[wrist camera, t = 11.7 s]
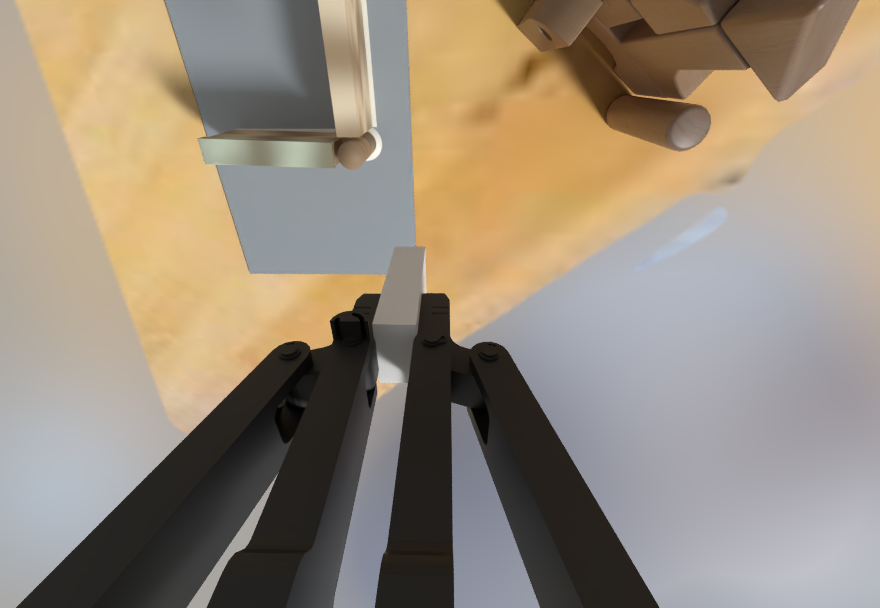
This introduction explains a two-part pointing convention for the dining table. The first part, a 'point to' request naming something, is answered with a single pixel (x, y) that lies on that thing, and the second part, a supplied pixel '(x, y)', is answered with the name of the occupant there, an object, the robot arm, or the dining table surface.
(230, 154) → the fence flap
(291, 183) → the card
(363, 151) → the beige wooden panel
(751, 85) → the dining table surface
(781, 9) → the wooden toy
